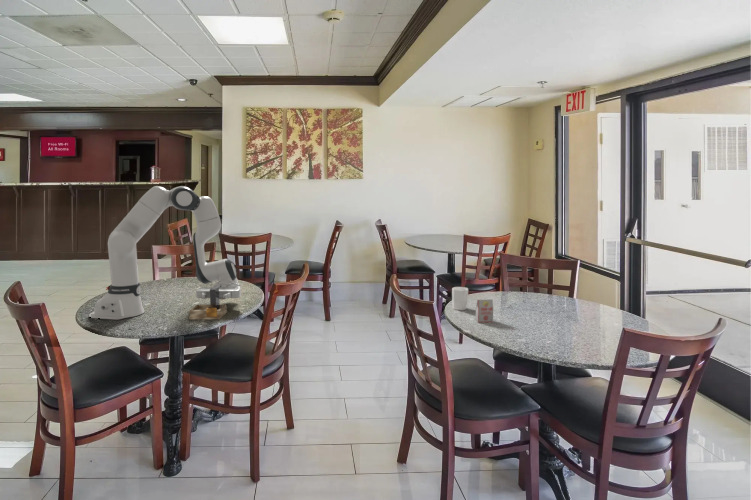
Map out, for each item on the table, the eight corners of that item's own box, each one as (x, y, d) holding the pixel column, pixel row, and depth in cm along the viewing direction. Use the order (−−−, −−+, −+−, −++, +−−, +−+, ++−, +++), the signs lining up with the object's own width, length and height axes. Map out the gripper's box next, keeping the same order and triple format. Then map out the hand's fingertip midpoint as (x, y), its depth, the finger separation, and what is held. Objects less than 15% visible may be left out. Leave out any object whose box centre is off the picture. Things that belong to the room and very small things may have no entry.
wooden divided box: (189, 319, 206) (188, 308, 206) (197, 311, 218) (197, 301, 217) (219, 319, 207) (219, 308, 206) (227, 311, 218) (226, 301, 218)
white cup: (456, 311, 222) (457, 291, 221) (448, 307, 230) (449, 287, 228) (470, 309, 225) (471, 289, 224) (461, 305, 233) (462, 286, 231)
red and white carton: (475, 320, 209) (476, 298, 207) (490, 319, 209) (491, 298, 208) (477, 322, 205) (478, 300, 204) (492, 322, 206) (493, 300, 204)
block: (210, 315, 210) (209, 289, 208) (214, 312, 215) (213, 287, 213) (216, 315, 210) (215, 289, 208) (219, 312, 215) (218, 287, 213)
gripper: (200, 283, 223) (190, 290, 209) (243, 283, 224) (236, 290, 210) (201, 296, 224) (191, 303, 210) (244, 296, 225) (236, 303, 211)
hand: (214, 297), depth 210 cm, fingers open, 8 cm apart
